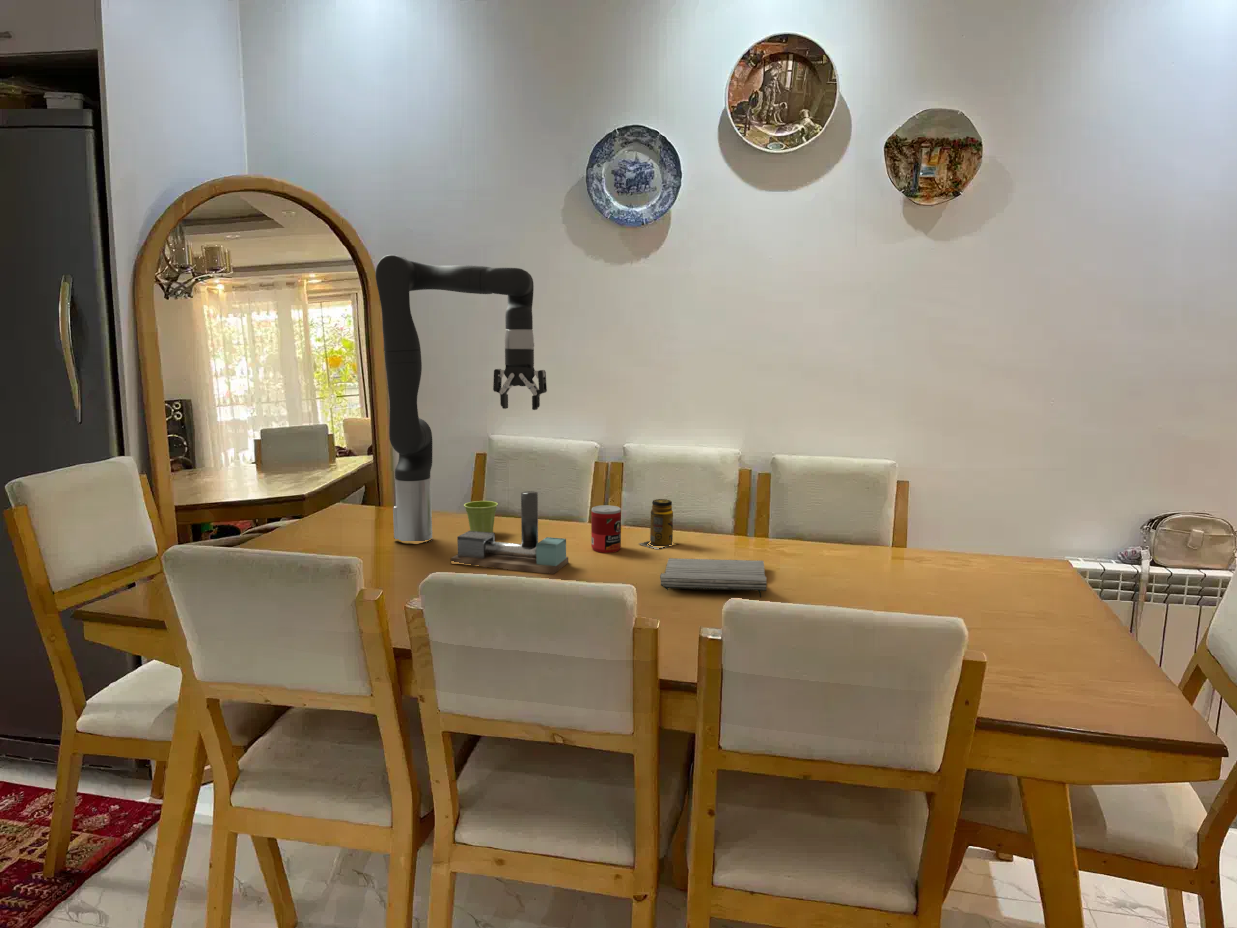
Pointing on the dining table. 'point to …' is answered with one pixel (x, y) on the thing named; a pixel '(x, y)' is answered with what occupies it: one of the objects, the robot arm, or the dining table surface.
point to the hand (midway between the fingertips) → (520, 409)
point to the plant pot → (481, 515)
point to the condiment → (661, 524)
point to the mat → (714, 574)
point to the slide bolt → (527, 528)
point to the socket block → (551, 551)
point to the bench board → (511, 563)
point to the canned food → (606, 528)
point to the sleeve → (473, 544)
